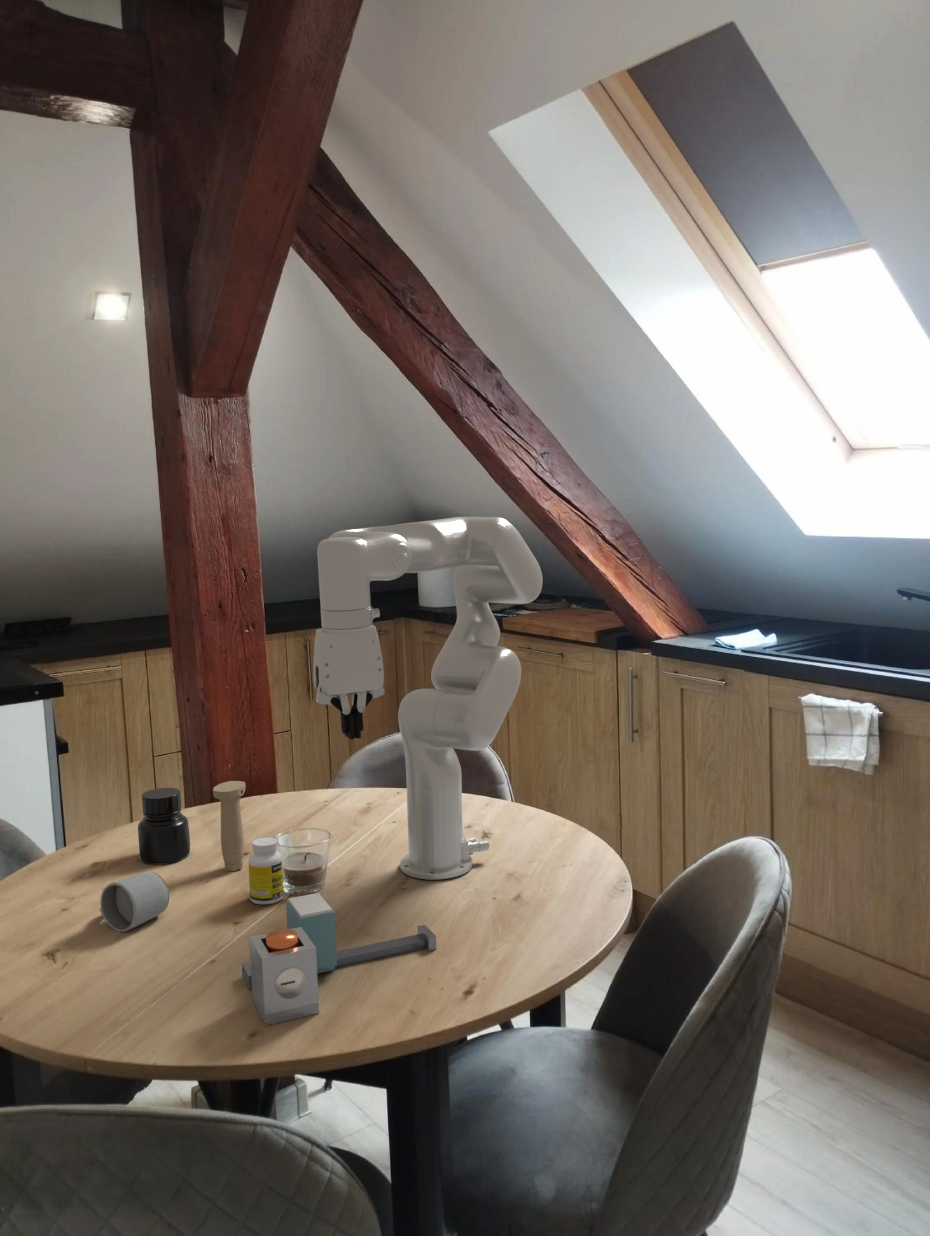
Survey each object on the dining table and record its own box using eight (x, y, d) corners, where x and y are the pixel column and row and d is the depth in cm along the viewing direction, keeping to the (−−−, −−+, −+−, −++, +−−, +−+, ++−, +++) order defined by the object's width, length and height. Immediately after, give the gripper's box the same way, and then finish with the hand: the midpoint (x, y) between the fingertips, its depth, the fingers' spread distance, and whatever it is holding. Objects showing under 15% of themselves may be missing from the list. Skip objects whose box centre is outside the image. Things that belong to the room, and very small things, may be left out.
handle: (212, 874, 189) (207, 790, 187) (231, 861, 195) (226, 780, 193) (237, 876, 187) (232, 792, 185) (255, 863, 193) (250, 782, 191)
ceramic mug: (174, 916, 171) (171, 869, 170) (136, 936, 164) (132, 888, 163) (126, 905, 177) (122, 860, 176) (87, 924, 170) (82, 877, 168)
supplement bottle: (276, 906, 174) (273, 848, 173) (245, 904, 175) (241, 846, 174) (288, 893, 179) (285, 836, 178) (257, 891, 181) (254, 835, 179)
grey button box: (304, 990, 146) (301, 926, 145) (319, 1014, 140) (316, 948, 138) (252, 1001, 143) (249, 937, 142) (266, 1027, 137) (262, 960, 136)
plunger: (295, 983, 144) (292, 926, 143) (303, 997, 140) (301, 938, 139) (266, 990, 142) (262, 932, 141) (273, 1003, 139) (270, 944, 138)
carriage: (322, 953, 157) (320, 891, 155) (337, 973, 150) (334, 909, 149) (289, 960, 155) (285, 898, 153) (302, 981, 148) (299, 916, 147)
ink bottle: (200, 849, 201) (196, 786, 200) (179, 866, 193) (175, 801, 191) (151, 847, 203) (147, 785, 201) (129, 864, 194) (124, 799, 193)
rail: (425, 937, 162) (424, 924, 161) (436, 949, 158) (436, 936, 157) (242, 976, 151) (241, 963, 150) (249, 990, 147) (248, 976, 146)
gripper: (384, 611, 170) (389, 724, 173) (291, 620, 164) (298, 738, 167) (401, 617, 163) (407, 735, 166) (305, 628, 157) (312, 750, 160)
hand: (352, 736), depth 167 cm, fingers closed
